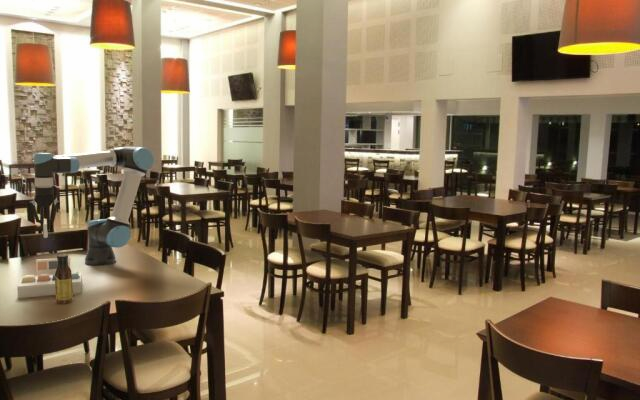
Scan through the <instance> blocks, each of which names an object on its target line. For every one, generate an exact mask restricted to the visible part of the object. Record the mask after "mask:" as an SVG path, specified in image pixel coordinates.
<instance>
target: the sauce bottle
mask: <svg viewBox="0 0 640 400" xmlns="http://www.w3.org/2000/svg"><path fill="white" fill-rule="evenodd" d="M68 258H69V254H68V253H61V254H57V256H56V259H57V260H58V267H57V269H56V272H55V290H56V295H55V299H56V300H55V301H56V303H57V304H61V305H62V304H70V303H71V302H72V301H73V296H74V295H73V291H72V276H71V272H72V269H71V267H70V268H69V266H68Z"/></svg>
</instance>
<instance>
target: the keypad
mask: <svg viewBox="0 0 640 400" xmlns="http://www.w3.org/2000/svg"><path fill="white" fill-rule="evenodd" d="M78 273H79V279H72V291H73V294H82V291H83V290H82V289H83V288H82V287H83V272H82V271H81V272H78ZM22 278H23V276H22V277H21V279H20V281H18V282H19V283H18V285H17V286H16V287H17V299H22V298H25V299H26V298H36V297H37V298H38V297H47V296H50V297H51V296H56V290H55V280H54V281H53V274H52V275H50V281H40V282H38V275H37V276H36V275H35V282H27V283H23V281H22Z"/></svg>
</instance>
